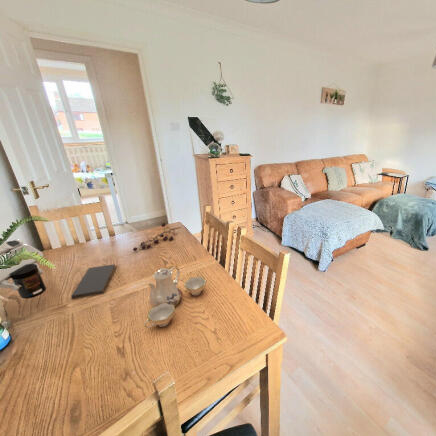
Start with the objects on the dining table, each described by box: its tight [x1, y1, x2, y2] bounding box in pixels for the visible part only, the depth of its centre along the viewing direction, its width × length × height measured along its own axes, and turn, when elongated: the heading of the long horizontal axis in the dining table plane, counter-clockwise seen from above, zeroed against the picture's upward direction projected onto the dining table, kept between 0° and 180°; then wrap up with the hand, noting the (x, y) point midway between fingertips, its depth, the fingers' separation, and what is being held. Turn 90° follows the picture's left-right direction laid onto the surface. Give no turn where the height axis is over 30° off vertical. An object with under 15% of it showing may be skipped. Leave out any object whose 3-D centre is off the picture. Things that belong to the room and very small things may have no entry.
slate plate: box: [71, 263, 116, 300], centre depth 104 cm, size 10×20×2 cm, turn 22°
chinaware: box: [144, 266, 207, 329], centre depth 91 cm, size 28×17×17 cm, turn 167°
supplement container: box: [9, 264, 47, 300], centre depth 85 cm, size 7×7×10 cm
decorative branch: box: [132, 222, 182, 252], centre depth 138 cm, size 11×9×30 cm
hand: (30, 281), depth 85 cm, fingers closed on supplement container, 6 cm apart
